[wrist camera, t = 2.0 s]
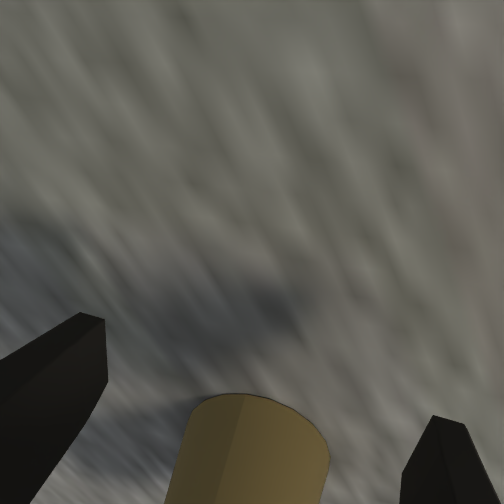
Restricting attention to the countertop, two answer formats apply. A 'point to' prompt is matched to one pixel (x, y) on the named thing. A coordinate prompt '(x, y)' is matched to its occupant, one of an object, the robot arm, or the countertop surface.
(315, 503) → the cork
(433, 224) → the countertop surface
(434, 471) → the robot arm
